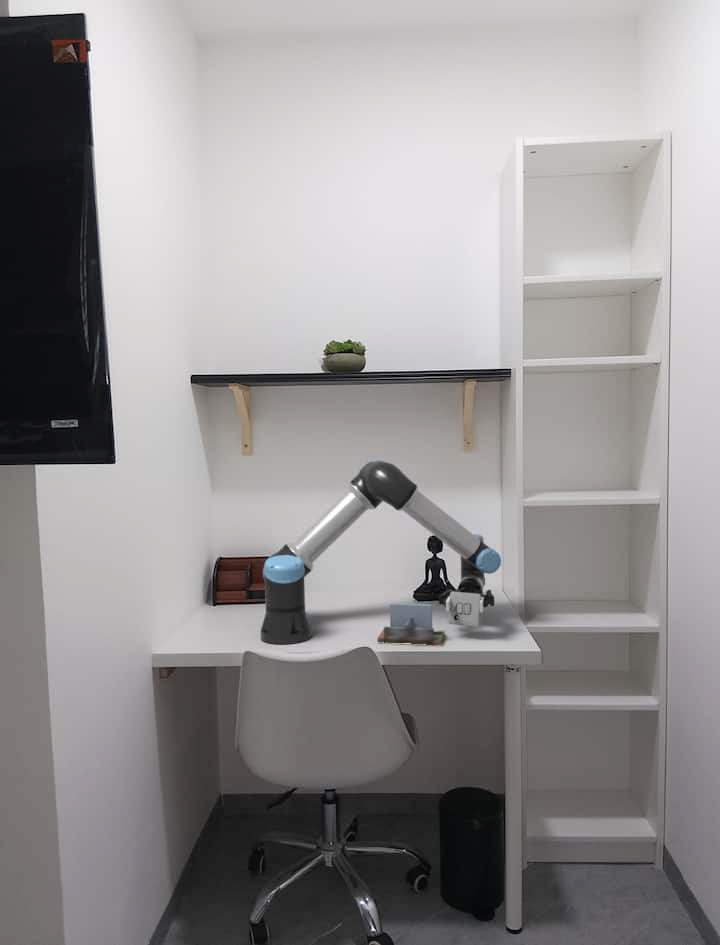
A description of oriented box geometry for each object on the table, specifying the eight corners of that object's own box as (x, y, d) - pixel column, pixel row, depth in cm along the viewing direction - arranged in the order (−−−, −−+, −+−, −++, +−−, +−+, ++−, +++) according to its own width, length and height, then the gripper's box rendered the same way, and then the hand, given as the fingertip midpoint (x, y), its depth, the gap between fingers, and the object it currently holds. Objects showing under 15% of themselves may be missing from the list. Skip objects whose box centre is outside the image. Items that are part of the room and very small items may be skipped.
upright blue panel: (385, 640, 201) (385, 610, 201) (391, 631, 209) (390, 603, 209) (439, 642, 198) (438, 612, 197) (442, 633, 206) (442, 604, 206)
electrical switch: (447, 624, 208) (447, 592, 208) (453, 621, 213) (454, 590, 213) (478, 627, 204) (478, 595, 204) (484, 625, 208) (484, 592, 209)
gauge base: (377, 643, 204) (377, 627, 204) (384, 633, 214) (383, 618, 214) (440, 646, 200) (440, 630, 200) (444, 635, 210) (444, 620, 210)
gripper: (505, 602, 223) (503, 621, 201) (436, 600, 228) (426, 618, 206) (505, 578, 223) (502, 594, 201) (435, 576, 228) (425, 593, 206)
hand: (464, 607), depth 204 cm, fingers closed on electrical switch, 9 cm apart
